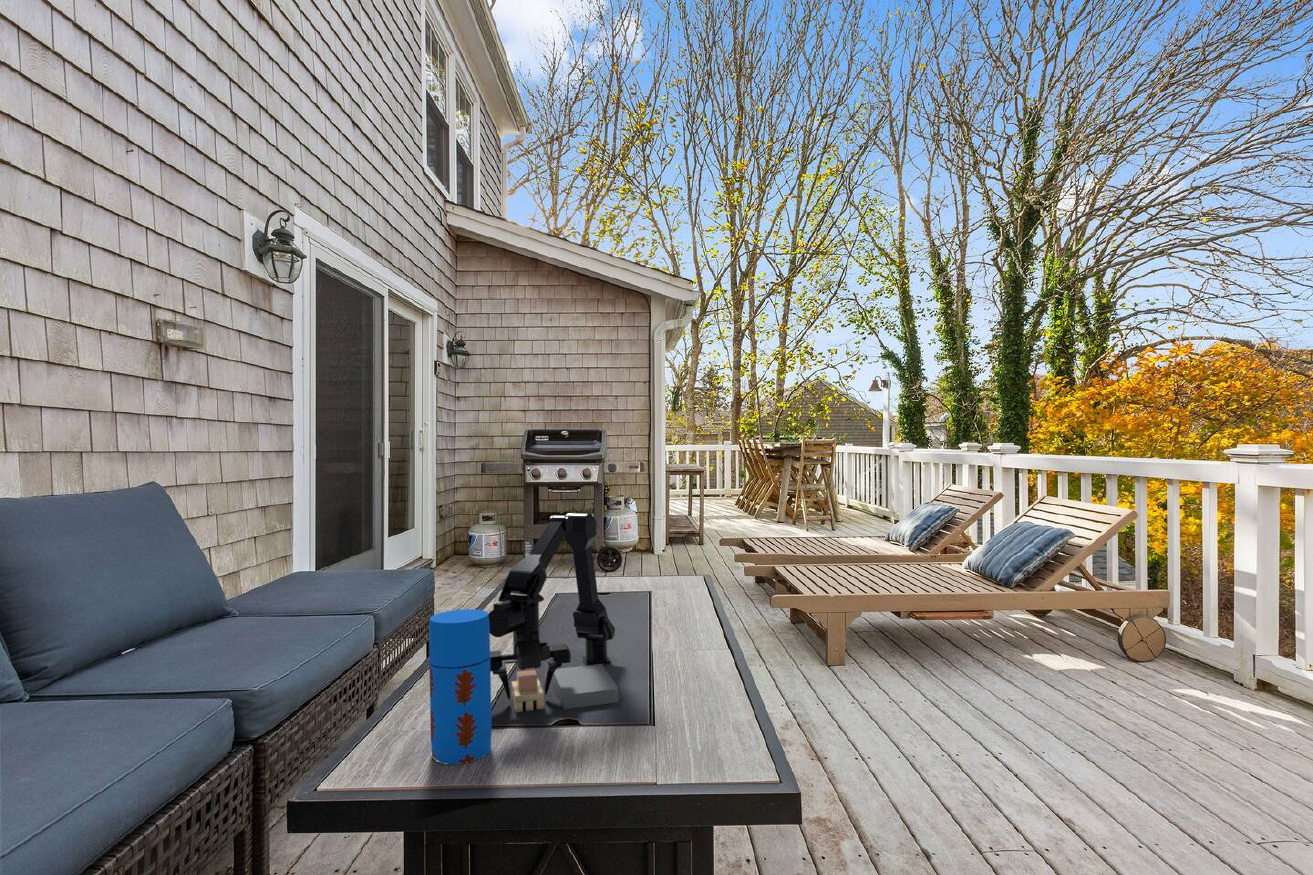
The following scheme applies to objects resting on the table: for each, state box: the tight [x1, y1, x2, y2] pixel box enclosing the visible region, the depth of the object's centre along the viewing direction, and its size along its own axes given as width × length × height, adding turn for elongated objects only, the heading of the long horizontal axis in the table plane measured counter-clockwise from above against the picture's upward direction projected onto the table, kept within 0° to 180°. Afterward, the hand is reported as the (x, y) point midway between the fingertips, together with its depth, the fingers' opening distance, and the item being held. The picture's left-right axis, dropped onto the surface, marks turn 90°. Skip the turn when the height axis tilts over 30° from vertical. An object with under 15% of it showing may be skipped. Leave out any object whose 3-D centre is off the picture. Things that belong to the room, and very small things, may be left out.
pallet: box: [511, 677, 545, 713], centre depth 149 cm, size 10×6×4 cm, turn 16°
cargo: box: [516, 669, 538, 691], centre depth 149 cm, size 4×4×3 cm
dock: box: [552, 664, 620, 710], centre depth 155 cm, size 18×12×3 cm, turn 16°
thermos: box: [428, 608, 492, 765], centre depth 125 cm, size 11×11×25 cm
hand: (527, 696), depth 149 cm, fingers open, 8 cm apart
